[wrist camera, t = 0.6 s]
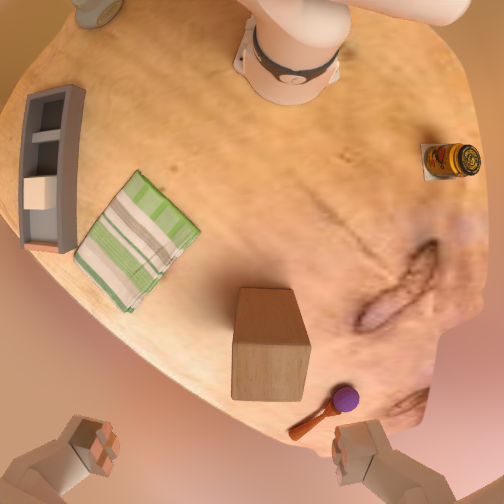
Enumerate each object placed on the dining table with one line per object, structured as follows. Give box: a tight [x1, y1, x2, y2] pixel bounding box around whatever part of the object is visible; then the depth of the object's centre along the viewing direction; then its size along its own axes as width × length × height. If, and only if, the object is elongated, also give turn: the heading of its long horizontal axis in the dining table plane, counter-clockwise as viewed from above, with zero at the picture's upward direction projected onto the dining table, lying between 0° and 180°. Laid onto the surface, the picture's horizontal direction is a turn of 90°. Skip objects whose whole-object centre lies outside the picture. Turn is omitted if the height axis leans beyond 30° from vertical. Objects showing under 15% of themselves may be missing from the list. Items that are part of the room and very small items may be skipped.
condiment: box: [421, 143, 481, 180], centre depth 43 cm, size 7×8×12 cm
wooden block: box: [231, 287, 311, 402], centre depth 47 cm, size 10×10×20 cm
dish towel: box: [73, 171, 201, 313], centre depth 52 cm, size 17×23×4 cm
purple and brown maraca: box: [289, 387, 359, 441], centre depth 61 cm, size 6×6×20 cm
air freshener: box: [72, 0, 123, 29], centre depth 36 cm, size 11×8×10 cm
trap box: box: [18, 85, 86, 254], centre depth 47 cm, size 32×12×6 cm, turn 175°
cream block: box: [24, 176, 57, 210], centre depth 46 cm, size 6×6×4 cm
